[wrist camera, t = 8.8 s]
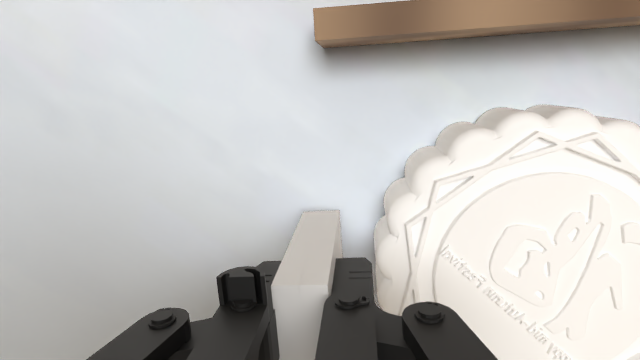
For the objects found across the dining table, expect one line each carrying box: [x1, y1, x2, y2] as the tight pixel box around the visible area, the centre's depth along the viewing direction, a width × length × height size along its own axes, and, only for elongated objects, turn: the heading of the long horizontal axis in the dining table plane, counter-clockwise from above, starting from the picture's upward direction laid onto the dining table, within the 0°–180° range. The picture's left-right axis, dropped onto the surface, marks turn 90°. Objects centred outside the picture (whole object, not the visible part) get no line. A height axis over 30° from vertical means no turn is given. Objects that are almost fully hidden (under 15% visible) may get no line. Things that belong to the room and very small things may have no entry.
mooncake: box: [374, 105, 640, 360], centre depth 17 cm, size 12×12×4 cm
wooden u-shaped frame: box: [313, 0, 640, 48], centre depth 16 cm, size 18×18×3 cm
